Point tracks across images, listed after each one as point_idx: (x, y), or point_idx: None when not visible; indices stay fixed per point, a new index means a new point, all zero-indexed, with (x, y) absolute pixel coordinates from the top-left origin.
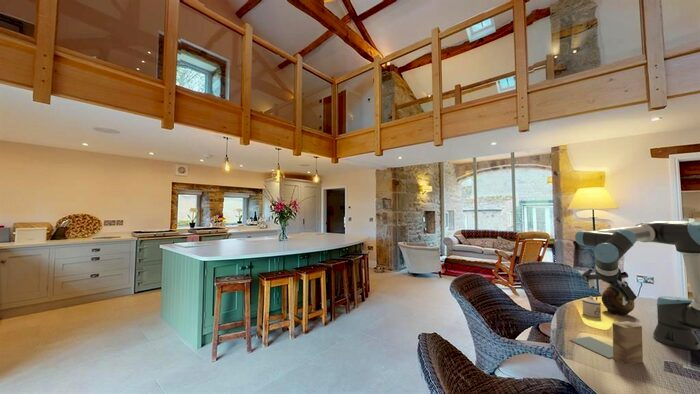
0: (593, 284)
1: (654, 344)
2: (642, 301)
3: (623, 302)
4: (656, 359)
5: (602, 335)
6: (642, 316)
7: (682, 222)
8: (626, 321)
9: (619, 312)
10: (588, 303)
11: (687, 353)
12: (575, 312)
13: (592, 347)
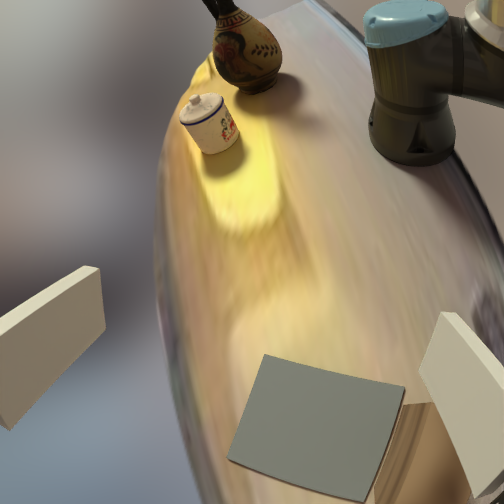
0: (89, 286)
1: (402, 195)
2: (269, 20)
3: (441, 404)
4: None
5: (288, 280)
6: (297, 60)
7: None
8: (428, 419)
9: (264, 83)
10: (197, 124)
11: (462, 181)
12: (186, 163)
13: (301, 463)
